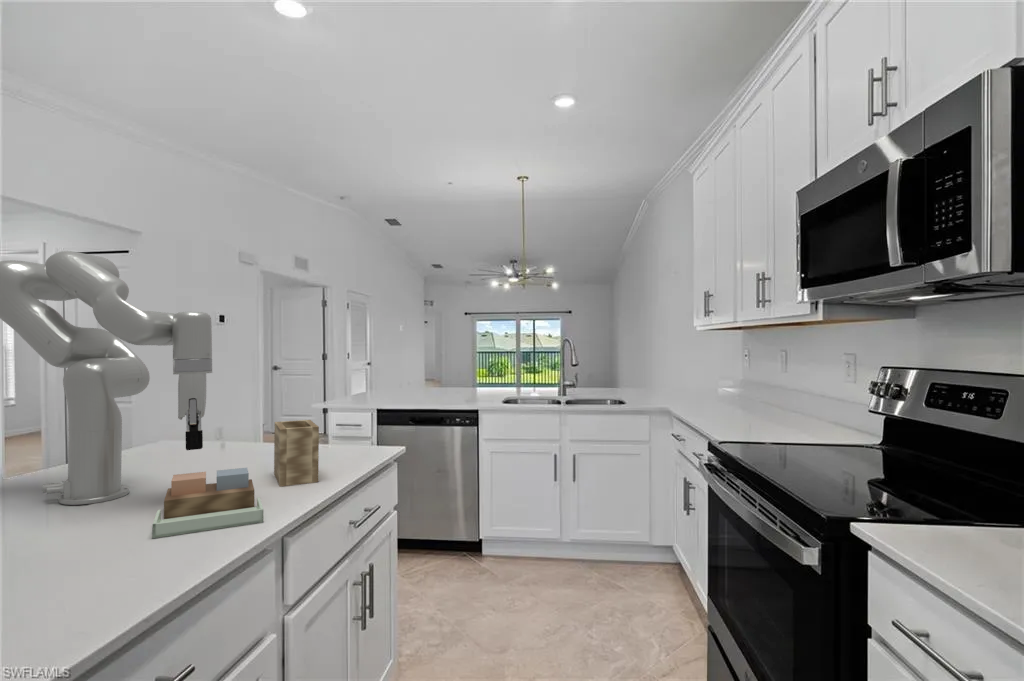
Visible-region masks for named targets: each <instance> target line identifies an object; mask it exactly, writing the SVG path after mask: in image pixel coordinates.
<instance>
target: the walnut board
mask: <svg viewBox="0 0 1024 681" xmlns="http://www.w3.org/2000/svg"><path fill="white" fill-rule="evenodd" d="M252 507H255V487H254V483H253V480H252V479H250V478H249V482H248V487H246V488H237V489H229V490H220V491H217V482H213V483H206V492H203V493H194V494H186V495H177V496H171V487H169V488H167V490H166V494H165V497H164V499H163V519H170V518H177V517H185V516H192V515H200V514H207V513H215V512H222V511H230V510H237V509H244V508H252Z"/></svg>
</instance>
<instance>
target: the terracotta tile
mask: <svg viewBox="0 0 1024 681" xmlns="http://www.w3.org/2000/svg"><path fill="white" fill-rule="evenodd" d="M171 478H172V479H171V482H170V483H171V486H170V488H171V496H177V495H186V494H194V493H203V492H206V484H207V471H197V472H189V473H180V474H179V473H178V474H172V477H171Z"/></svg>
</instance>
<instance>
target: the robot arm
mask: <svg viewBox="0 0 1024 681" xmlns="http://www.w3.org/2000/svg"><path fill="white" fill-rule="evenodd" d="M129 294H130V288H129V286H128V284H127V283H126V282H125V281H124V280H122V279H121V278H120V271H119V268H118V267H117V265H116V264H114V263H113V261H111V260H110V259H108V258H105V257H103V256H98V255H93V254H88V253H83V252H79V251H71V250H66V251H57V252H55V253H53V254H51V255H50V256H49V257H48V258H47V259H46V261H45V264H44V263H37V262H30V261H24V260H13V259H12V260H11V259H10V260H1V261H0V320H1V321H3V322H4V323H6V324H7V326H9V327H10V328H11V329H13V330H14V332H16V333H17V334H18V336H20V337H21V338H22V339H23V340H24V341H25V342H26V344H28V345H29V346H30V347H31V349H33V350H34V351H35V352H36V353H37V354H38V355H39V356H40V357H41V358H42V359H43V360H44V361H45V362H46V363H47V364H49V365H51V366H53V367H56V368H59V369H60V368H63V369H66V370H65V371H64V373H63V376H62V377H63V378H62V386H63V392H64V396H65V398H66V399H65V400H66V405H67V415H68V419H67V420H68V421H67V422H68V427H67V428H68V429H67V430H68V440H67V442H68V447H67V450H68V452H67V453H68V455H67V457H68V458H67V459H68V460H67V479H66V480H62V481H61V482H57V483H52V482H51V483H44V484H43V485H42V490H41V491H42V493H43V494H46V495H48V494H50V495H51V494H55V493H60V495H59V496H58V503H59V504H61V505H65V506H67V505H68V506H70V505H71V506H77V505H78V506H79V505H91V504H98V503H104V502H108V501H114V500H117V499H120V498H123V497H125V496H127V495H129V493H130V487H129V486H127V485H124V484H122V451H123V450H122V447H123V446H122V443H123V442H122V438H123V437H122V436H123V431H122V429H123V426H122V425H123V423H122V422H123V419H122V413H121V410H120V408H119V406H118V404H117V402H116V401H115V399H117V398H124V397H132V396H136V395H139V394H140V393H142V392H143V391H145V390H146V389H147V388H148V385H149V384H150V379H151V377H150V371H149V368H148V367H147V365H146V364H145V362H144V361H143V360H142V359H141V358H139V356H138V355H137V354H136V353H135V352H133V351H132V350H131V348H129V346H127V345H126V344H125V343H124V342H126V343H128V344H130V345H133V346H160V347H161V346H165V347H166V346H172V374H173V375H178V383H177V401H178V402H177V405H178V406H177V409H178V410H177V417H178V418H177V419H178V420H181V421H182V420H183V418H185V424H186V428H185V429H186V430H185V450H186V451H194V450H202V449H203V448H204V447H203V446H204V444H203V443H204V442H203V441H204V440H203V438H204V437H203V435H204V434H203V429H202V418H203V417H204V416H205V412H206V407H207V406H206V404H207V374H213V342H212V341H213V340H212V338H213V337H212V336H213V333H212V332H213V331H212V328H213V327H212V317H211V315H210V314H208V313H206V312H203V311H201V312H200V311H180V312H175V313H171V312H163V311H162V312H161V311H151V310H141V309H139V308H138V307H136V306H134V305H132V304H131V303H129V302H127V299H128V297H129ZM75 299H78V300H80V301H81V302H83V303H84V304H86V305H87V306H89V307H91V308H92V312H93V315H94V318H95V319H96V321H97V323H98V324H99V325H100V326H101V327H102V328H97V327H80V326H77V325H74V324H71V323H70V322H69V321H68V320H66V318H64V317H63V316H62V315H61V314H60V313H59V312H58V311H57V310H56V309H54V308H53V307H51V306H50V305H48V304H46V303H44V302H43V301H52V302H53V301H54V302H63V301H72V300H75ZM41 300H42V301H41Z"/></svg>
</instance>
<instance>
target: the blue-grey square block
mask: <svg viewBox="0 0 1024 681" xmlns="http://www.w3.org/2000/svg"><path fill="white" fill-rule="evenodd" d="M249 474H250V473H249V469H248V467H238V468H230V469H229V468H227V469H220V470H219V469H218V470H216V483H217V491H220V490H229V489H237V488H246V487H248V482H249V479H250V478H249Z"/></svg>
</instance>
